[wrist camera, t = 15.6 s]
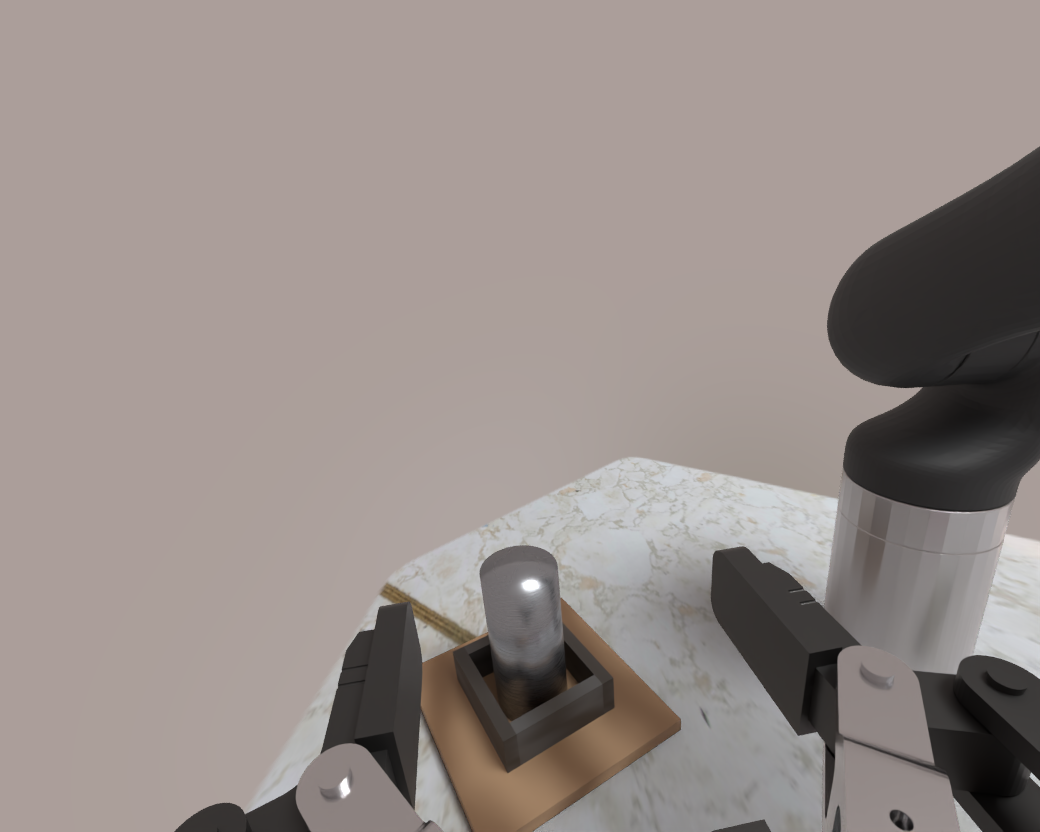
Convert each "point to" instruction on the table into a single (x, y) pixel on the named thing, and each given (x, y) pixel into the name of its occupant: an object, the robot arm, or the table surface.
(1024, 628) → the table surface
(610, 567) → the table surface
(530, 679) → the grey metal cylinder
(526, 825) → the wooden board with frame
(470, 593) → the table surface
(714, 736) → the table surface
